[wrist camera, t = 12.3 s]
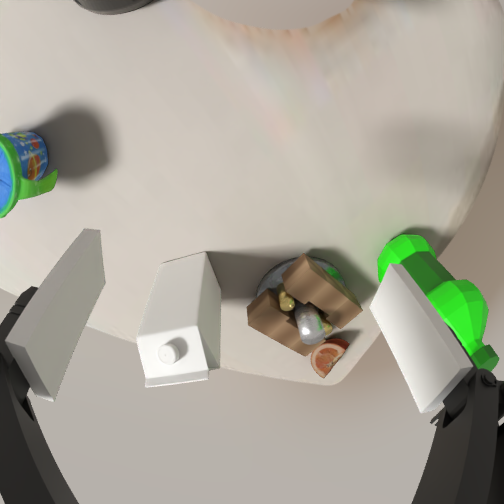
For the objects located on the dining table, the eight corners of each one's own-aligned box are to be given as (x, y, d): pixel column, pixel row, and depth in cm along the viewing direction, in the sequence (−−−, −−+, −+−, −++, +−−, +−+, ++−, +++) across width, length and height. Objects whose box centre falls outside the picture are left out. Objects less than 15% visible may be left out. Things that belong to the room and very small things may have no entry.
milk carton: (221, 290, 45) (220, 397, 29) (178, 300, 46) (160, 404, 29) (206, 250, 42) (194, 355, 25) (159, 263, 42) (127, 366, 26)
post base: (266, 250, 43) (275, 289, 35) (355, 263, 45) (377, 299, 37) (248, 324, 49) (252, 366, 41) (326, 330, 51) (340, 368, 43)
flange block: (246, 307, 45) (248, 325, 42) (303, 252, 41) (310, 268, 38) (300, 339, 50) (305, 356, 46) (354, 294, 46) (362, 310, 42)
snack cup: (-9, 170, 32) (-50, 193, 23) (5, 106, 28) (-41, 118, 19) (61, 208, 37) (24, 241, 28) (82, 141, 33) (41, 159, 24)
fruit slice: (330, 361, 56) (337, 380, 52) (301, 357, 55) (306, 377, 50) (352, 332, 52) (360, 351, 48) (321, 326, 51) (328, 347, 47)
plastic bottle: (374, 222, 41) (476, 345, 20) (429, 225, 42) (531, 327, 21) (360, 280, 46) (430, 409, 25) (412, 277, 47) (489, 387, 26)
